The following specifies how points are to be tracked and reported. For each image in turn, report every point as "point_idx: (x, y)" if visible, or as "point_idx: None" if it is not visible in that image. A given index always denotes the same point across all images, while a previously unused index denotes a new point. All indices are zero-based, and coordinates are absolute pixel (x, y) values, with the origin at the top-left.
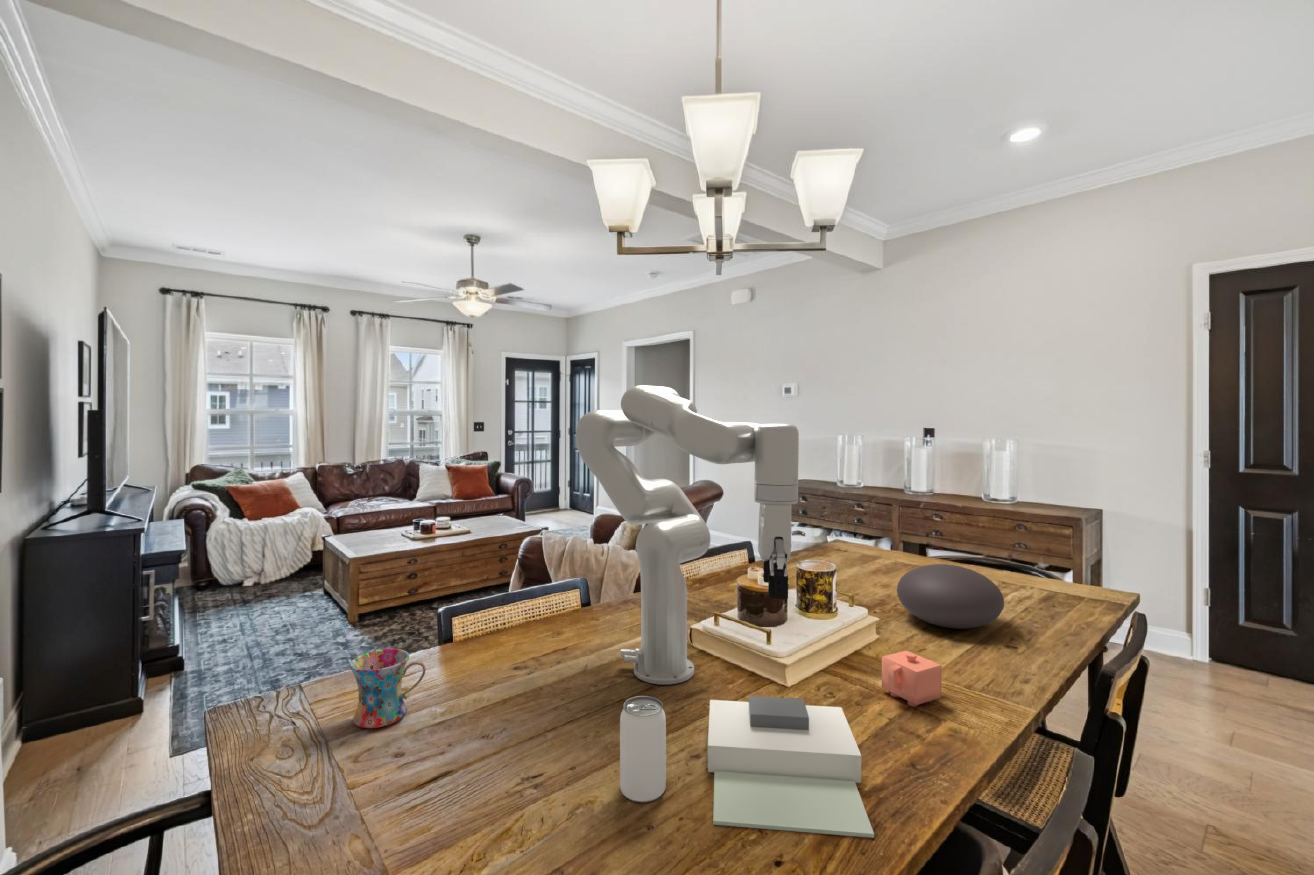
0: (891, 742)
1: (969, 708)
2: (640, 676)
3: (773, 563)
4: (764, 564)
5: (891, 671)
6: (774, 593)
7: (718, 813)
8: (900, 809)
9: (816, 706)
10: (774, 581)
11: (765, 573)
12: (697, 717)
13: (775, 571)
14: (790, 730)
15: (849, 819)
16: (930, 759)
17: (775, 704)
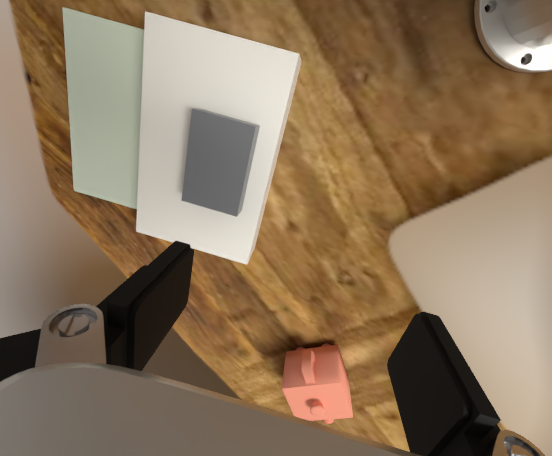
0: (226, 287)
1: (282, 390)
2: None
3: (433, 435)
4: (466, 392)
5: (305, 367)
6: (146, 266)
7: (75, 18)
8: (118, 233)
9: (252, 233)
10: (105, 300)
11: (431, 347)
12: (323, 40)
13: (4, 341)
14: None
15: (89, 177)
16: (194, 303)
17: (222, 165)
